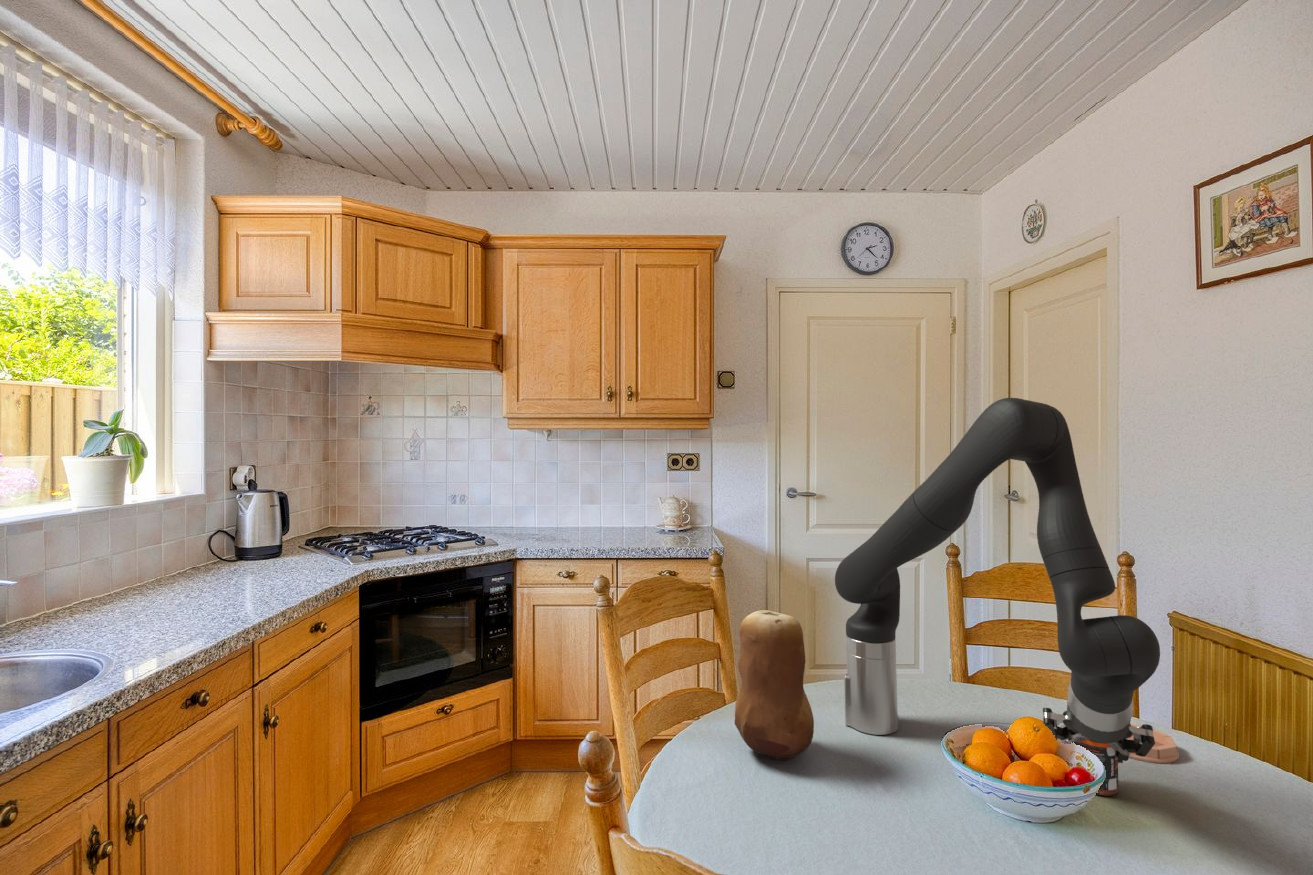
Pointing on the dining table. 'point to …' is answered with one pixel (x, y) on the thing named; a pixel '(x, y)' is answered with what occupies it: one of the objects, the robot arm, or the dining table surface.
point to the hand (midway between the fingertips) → (1092, 751)
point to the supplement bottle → (1109, 761)
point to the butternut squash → (773, 686)
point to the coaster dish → (1159, 749)
